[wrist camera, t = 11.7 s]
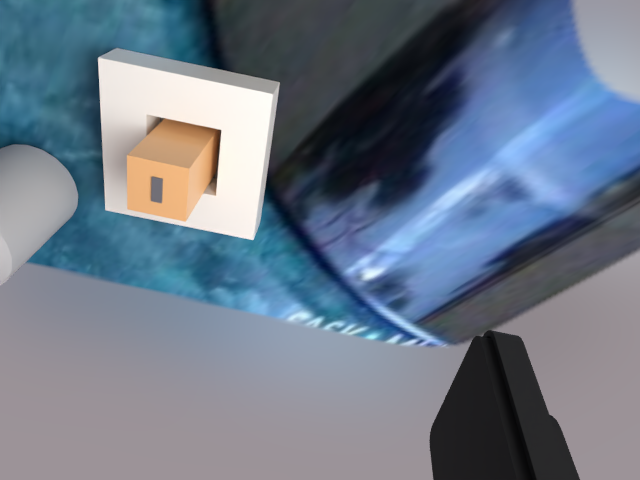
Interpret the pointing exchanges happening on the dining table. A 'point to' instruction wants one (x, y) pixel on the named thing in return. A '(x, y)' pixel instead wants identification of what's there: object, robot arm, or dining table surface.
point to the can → (31, 203)
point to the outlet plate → (195, 108)
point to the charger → (171, 169)
